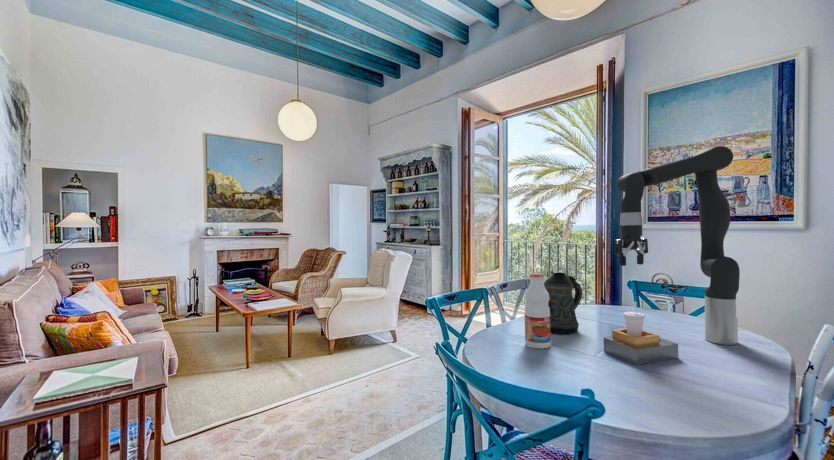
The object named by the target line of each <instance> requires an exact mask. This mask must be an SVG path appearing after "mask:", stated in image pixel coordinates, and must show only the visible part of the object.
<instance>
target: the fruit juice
mask: <svg viewBox="0 0 834 460" xmlns="http://www.w3.org/2000/svg"><path fill="white" fill-rule="evenodd" d="M529 277H530V278H529V279H530V282H529V286H528V287H527V289H526V291H525V293H524V300H525V306H524V342H525V345H526V346H527V347H528V346H530V347H529V348H531V347H533V348H532V349H535V348H541V349H540V350H544V349H543V348H546V349H549V348H550V347H551V345H552V344H551V343H552V341H551V334H550V308H549V306H548V302H549V293H548V292H547V290H546V289H545V286H544V280H543V279H544V274H543V273H542V272H541V273H540V272H531V273H529ZM548 347H549V348H548Z"/></svg>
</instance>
